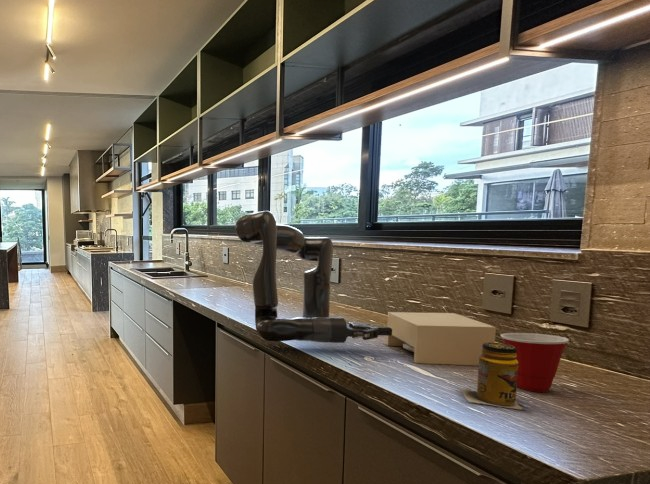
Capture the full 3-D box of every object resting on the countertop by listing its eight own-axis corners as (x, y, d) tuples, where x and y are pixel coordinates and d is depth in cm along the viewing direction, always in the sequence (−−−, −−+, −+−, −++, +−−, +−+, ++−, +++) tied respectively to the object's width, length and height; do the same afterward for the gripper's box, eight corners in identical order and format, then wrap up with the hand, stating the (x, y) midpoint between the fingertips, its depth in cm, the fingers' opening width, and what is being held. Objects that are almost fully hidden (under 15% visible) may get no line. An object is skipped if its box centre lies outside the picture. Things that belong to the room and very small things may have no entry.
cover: (386, 344, 128) (387, 312, 127) (452, 346, 125) (454, 313, 124) (415, 363, 111) (417, 325, 110) (493, 366, 107) (495, 327, 106)
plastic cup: (515, 376, 100) (518, 327, 99) (576, 392, 90) (581, 338, 88) (485, 382, 96) (488, 332, 95) (545, 399, 86) (550, 344, 85)
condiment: (523, 410, 82) (527, 351, 80) (468, 402, 86) (472, 346, 85) (510, 397, 88) (514, 342, 87) (459, 390, 92) (463, 338, 91)
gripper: (334, 322, 116) (402, 323, 113) (320, 313, 129) (381, 314, 126) (333, 348, 117) (401, 350, 113) (320, 336, 130) (380, 337, 126)
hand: (390, 331), depth 120 cm, fingers closed
